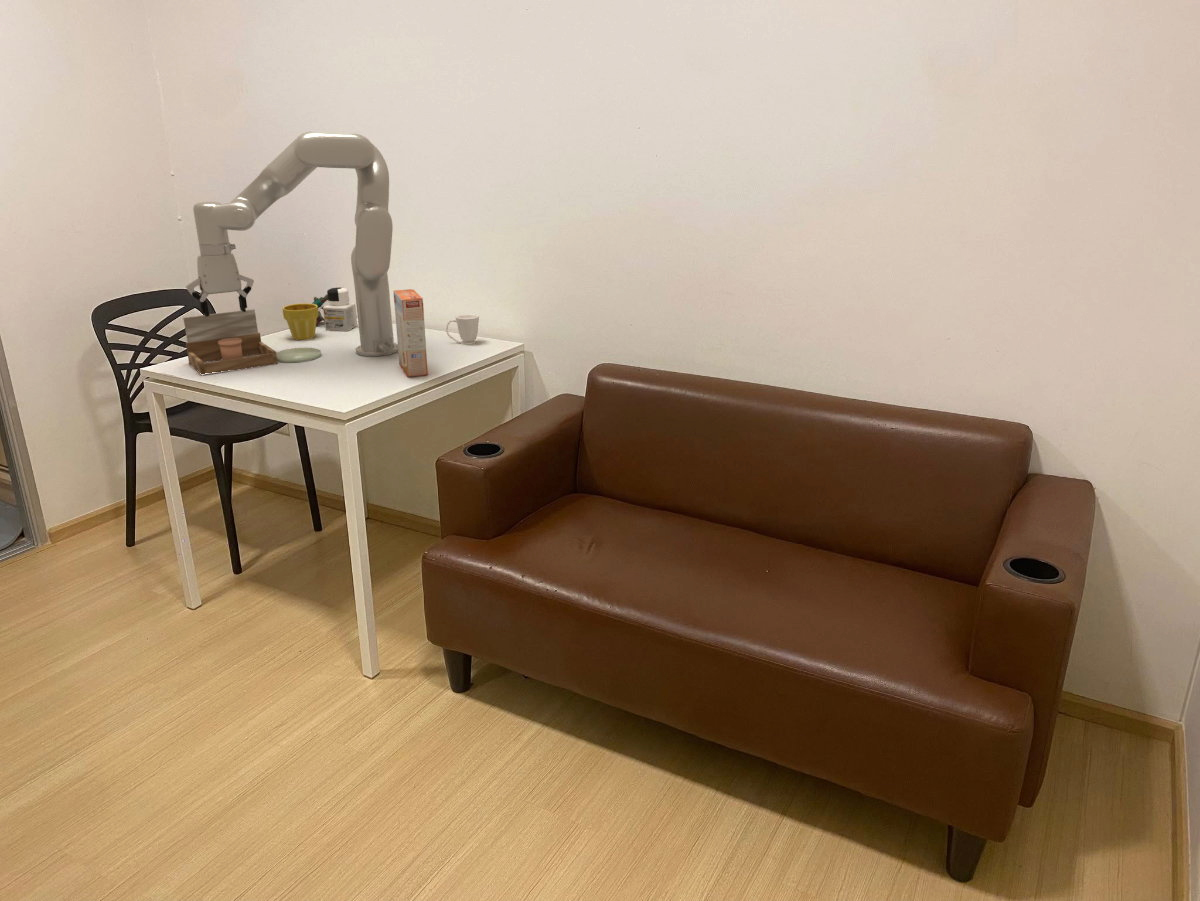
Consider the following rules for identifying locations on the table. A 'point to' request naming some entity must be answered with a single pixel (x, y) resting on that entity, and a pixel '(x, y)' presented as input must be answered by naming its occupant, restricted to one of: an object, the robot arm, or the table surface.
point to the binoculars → (319, 303)
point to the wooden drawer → (223, 326)
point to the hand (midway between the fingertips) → (225, 313)
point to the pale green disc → (298, 355)
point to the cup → (466, 328)
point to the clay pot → (230, 348)
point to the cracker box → (410, 332)
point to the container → (339, 311)
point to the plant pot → (301, 320)
